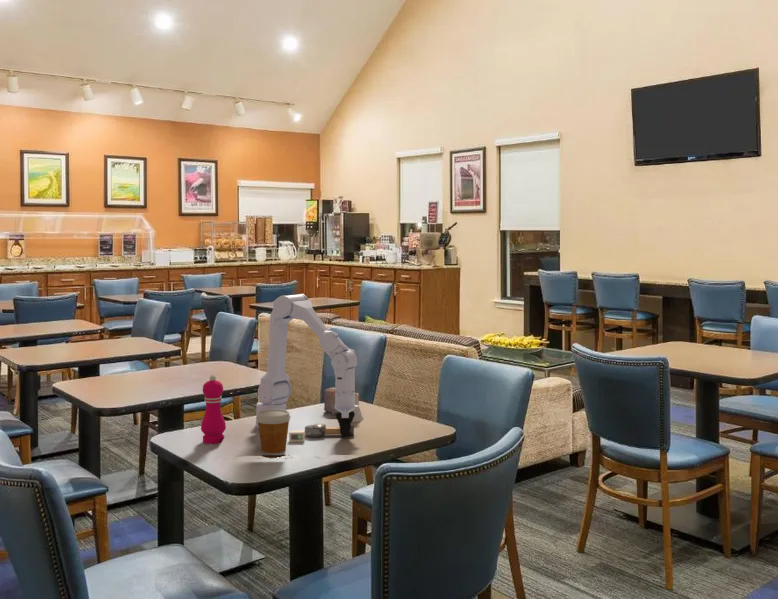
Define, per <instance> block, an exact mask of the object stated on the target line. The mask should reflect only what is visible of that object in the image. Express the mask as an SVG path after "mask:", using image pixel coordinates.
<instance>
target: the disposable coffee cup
mask: <svg viewBox="0 0 778 599" xmlns="http://www.w3.org/2000/svg"><path fill="white" fill-rule="evenodd" d="M291 418H292V417H291V415H290V412H289V411H288V410H287V409H286V410H278V409H273V410H264V411H260V412H258V415H257V417H256V416H255V420H256V419H257V422H258V426H259V428H258V433H259V440H260V447H261V451H262V453H265V454H263V455H262V457H263V458H268V459H278V458H277V457H279V458H283V457H285V456H284V455H285V454H280V453H284V452H286V448H287V442H288V435H289V433H288V432H289V423H290V421H291ZM282 456H283V457H282Z"/></svg>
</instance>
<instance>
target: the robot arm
mask: <svg viewBox="0 0 778 599" xmlns="http://www.w3.org/2000/svg"><path fill="white" fill-rule="evenodd" d="M294 319H296V320H297V319H298V320H302V321H303V322H305V324H306V325H307V327H309V328H310V329H311V331H312V332H314V334H315V335H317V337H318V344H319V345H320V347H321V348H322V350H323V351H324V352H325V353H326V354H327V355H328V357H329V358H330V359H331V360H330V364H331V367H332V369H333V373H334V374H333V375H334V377H335V379H334V380H335V381H334V382H335V384H334V385H335V386H334V387H335V409H336V410H337V411H339V412H336V414H335V415H334V416H335V418H336V420H337V423H338V427H340V433H341V435H340V437H341V438H349V437H350V436H349V433H350V427H351V424H352V423H353V422H352V420H353V418H354V416H355V413H354V411H353V410H354V409H358V408H360V404H359V405H355V393H356V392H355V390H356V385H355V384H356V378H355V377H356V375H355V374H356V371H355V370H356V368H357V366H358V365H359V362H360V359H359V355H358V353H357V351H356V350H354V349H352V348H349V347H348V346H347V345H346V344H345V343H344V342H343V341H342V339H341V338H340V337H339V334H338V332H335V331H334V330H328V328H327V327H326V325H325V324H324V322H323V321H322V320H321V318H320V317H319V315H318V314H317V312H316V311H315V309H314V308H313V302H312V301H311V300H309V298H308V297H307V295H305V294H304V293H298V294H291V295H290V294H288V295H280V296H278V297H277V298H276V299H275V300H273V306H272V310H271V313H270V316H269V331H268V332H269V333H268V335H269V336H268V351H267V369H266V370H267V371H266V372H265V373H264V374H263V376H262V377H261V378H260V383H259V386H258V389H257V396H258V398H259V400H260V401H261V402H257V403H256V408H255V413H256V414H255V428H256V429H259V426H258V422H257V419H256V417H257V415H258V412H260V411H264V410H273V409H278V410H286V411H287V401H288V400H289V399H288V398H289V397H290V396H291V393H292V385H291V382H290V376H289V375H288V374H287V373H286V362H287V361H286V360H287V359H286V358H287V340H288V338H287V337H288V327H289V326H288V324H289V322H291V321H292V320H294Z"/></svg>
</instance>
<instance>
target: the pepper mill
mask: <svg viewBox="0 0 778 599" xmlns="http://www.w3.org/2000/svg"><path fill="white" fill-rule="evenodd" d="M216 379H217V377H216V376H215V375H214V374H212V375H210V377H209V380H208V381H205V383H204V384H203V386H202V394H203V395H204V403H205V413H204V415H203V419H202V421H201V424H200V430H201V432H202V433H203V434H204V435H202V443H203V444H205V445H218V444H222V443H223V441H224V439H225V434H224V432H226V429H227V425H226V420H225V418H224V416H223V413H222V410H221V403H222V401H223V400H222V394H223V392H224V385H223V383H222V382H221V381H220V380H216Z"/></svg>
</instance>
